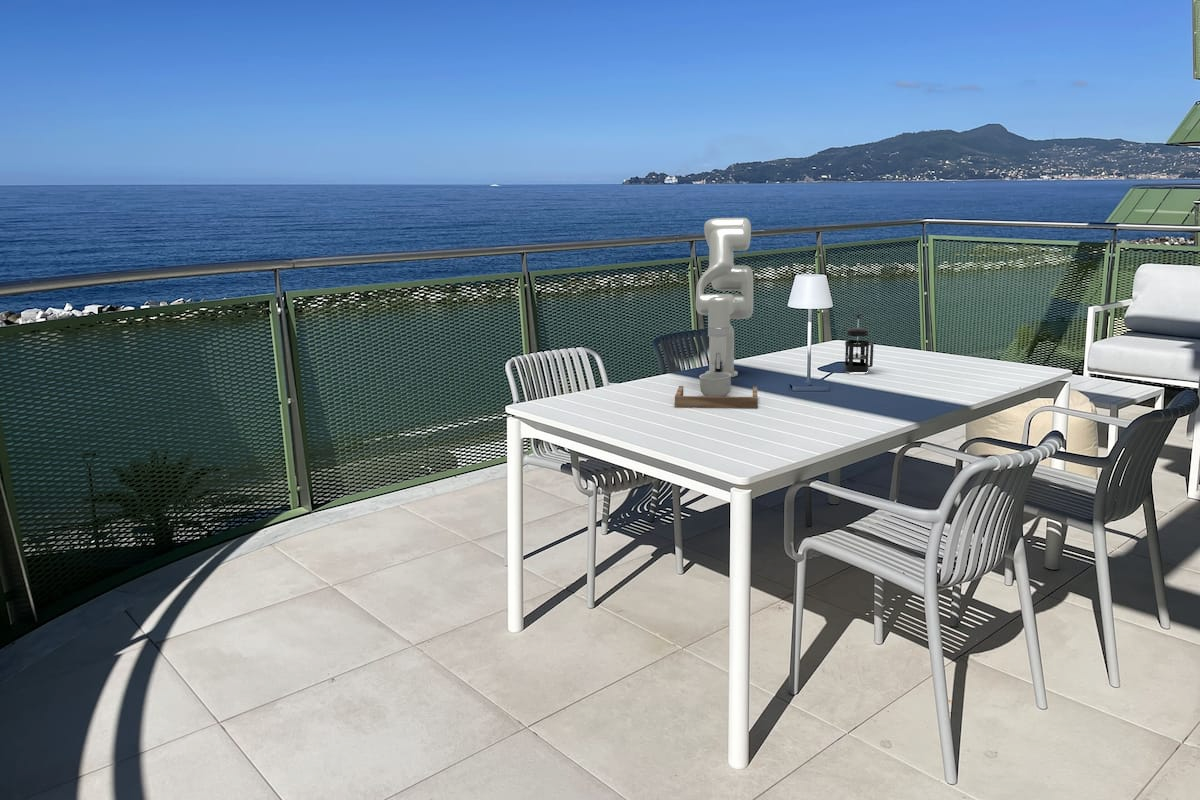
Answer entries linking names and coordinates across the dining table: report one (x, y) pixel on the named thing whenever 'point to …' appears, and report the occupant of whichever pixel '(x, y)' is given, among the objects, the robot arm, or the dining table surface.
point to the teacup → (715, 384)
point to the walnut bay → (715, 401)
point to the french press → (857, 343)
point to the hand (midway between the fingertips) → (718, 382)
